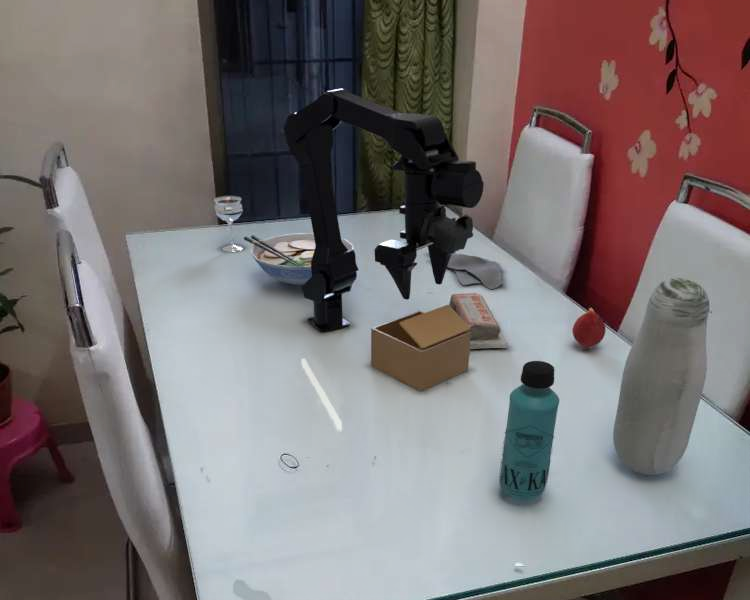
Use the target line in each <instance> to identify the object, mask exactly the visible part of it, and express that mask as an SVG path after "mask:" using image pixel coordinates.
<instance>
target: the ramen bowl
mask: <svg viewBox="0 0 750 600" xmlns="http://www.w3.org/2000/svg"><path fill="white" fill-rule="evenodd" d="M243 240H244V241H246V242H248V243H250V244H251V245H252V247H251V250H250V254H251V256H252V258H253V259H254V261H255V262H256V263H257V264H258V265H259V267H260V268H261V269H262V271H263V272H264V273H266V275H267V276H268V277H270V278H272V279H274V280H277V281H279V282H281V283H285V284H289V285H292V286H296V287H302V286H303V285H304V284H305V283H306V282H307V281H308V280H309V279H310V278H311V277H312V273H311V260H312V257H313V254H314V250H315V239H314V234H313V232H299V233H297V232H296V233H287V234H280V235H274V236H272V237H269V238H265V239H261V238H259V237H258V236H256V235H254V234H253V235H252V234H251V235H250V237H248V236H243ZM341 240H342V243H343V244H344V245H345V246H346V248H347V249H348V250H354V244H353V243H351V242H350V241H349V240H347V239H345V238H342V237H341Z"/></svg>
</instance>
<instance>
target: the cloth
mask: <svg viewBox="0 0 750 600" xmlns="http://www.w3.org/2000/svg"><path fill="white" fill-rule="evenodd" d="M501 267H502V266H500V264H499V263H498V262H497V261H496V260H492V261H491V260H489V259H487V258H484V257H481V256H477V255H468V254H463V253H456V252H455V253H453V254H452V255H451V257H450V260H449V263H448V266H447V269H450V270H452V271H453V272H454V273H455V276H456V279H457V280H458V282H459V283H460V284H461V285H462V286H468V285H469V286H470V285H474V284H478V285H479V284H482V286H483V287H486V289H487V288H488V289H489V290H494V289H499V288H500V287H501V286H503V272H502V268H501Z"/></svg>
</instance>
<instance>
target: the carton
mask: <svg viewBox="0 0 750 600" xmlns="http://www.w3.org/2000/svg"><path fill="white" fill-rule="evenodd" d="M423 313H425V312H423V311H421V310H417V311H415V312H412V313H409V314H406V315H404V316H400V317H398V318H395V319H392V320H390V321H388V322H385V323H381V324H379V325H375V326H374V327H371V328H370V334H371V335H370V366H371V367H372V368H374V369H376V370H378V371H380V372H382V373H384V374H385V375H388V376H389V377H391V378H394V379H395V380H398V381H400V382H401V383H403V384H405V385H407V386H409V387H411V388H413V389H415V390H417V391H419V392H423V391H425V390H427V389H430V388H432V387H434V386H437V385H440V384H441V383H444V382H445V381H448V380H450V379H452V378H454V377H457V376H459V375H462V374H464V373H466V372H468V371H469V364H470V351H471V349H470V338H471V332H469V331H466V332H463V333H461V334H458V335H456V336H453V337H451V338H448V339H446V340H444V341H441V342H439V343H436V344H434V345H431V346H429V347H426V348H424V349H421V347H420V346H419V345H418V344H417V343H416V342H415V341H414V340H413V339H412V338H411V337H410V335H409V334H408V333H407V332H406V331H405V330H404V329H403V328H402V327H401V326H400V324H399V323H400V322H402V321H405V320H407V319H410V318H413V317H415V316H418V315H421V314H423Z"/></svg>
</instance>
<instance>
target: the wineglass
mask: <svg viewBox="0 0 750 600" xmlns="http://www.w3.org/2000/svg"><path fill="white" fill-rule="evenodd" d="M213 202H214V203H215V204H214V212H215V214H216V216H217V217H218V218H219V219H220V220H222V221H225V222H226V223H227V224H228V230H229V236H230V245H226V246H224V247H222V251H224V252H228V253H229V252H231V253H232V252H233V253H235V252H239V251H242V250H243V249H244V248H243V246H241V245H239V244H234V238H233V237H234V236H233V223H234V221H237V220H238V219H239V218H240V217H241V215H242V214H243V211H244V209H243V208H244V207H243V204H242V203H241V202H242V197H240V196H237V195H236V196H235V195H223V196H218V197H215V198H214V199H213Z"/></svg>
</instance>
